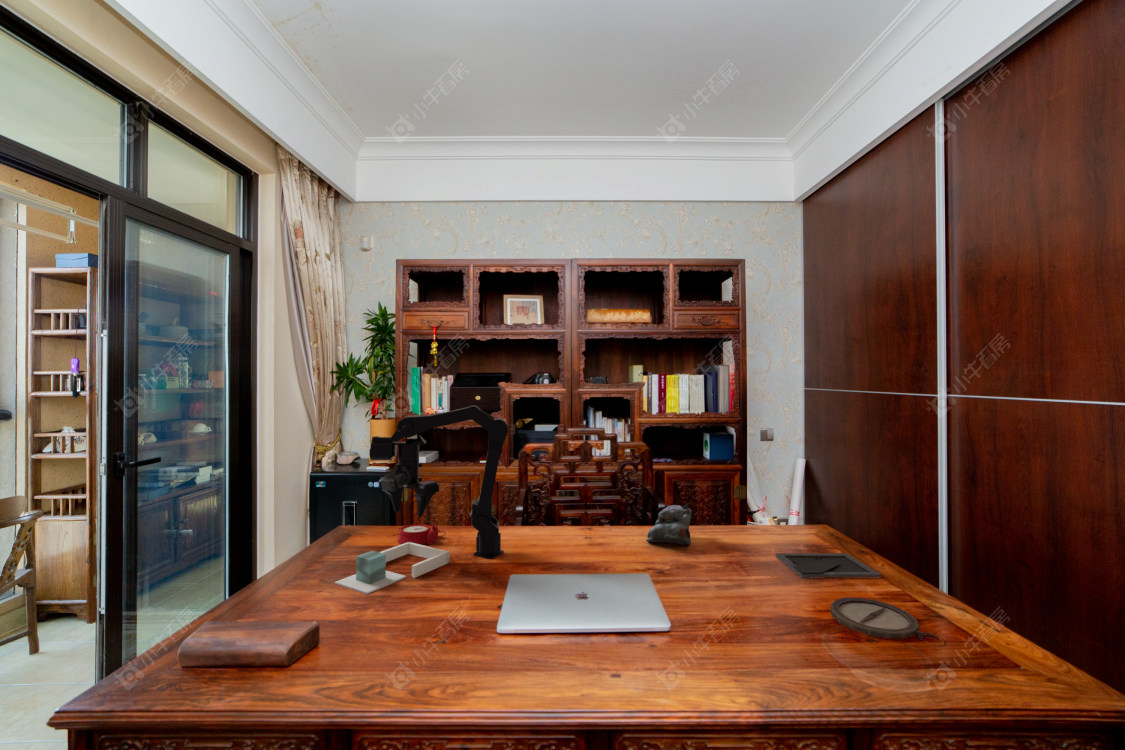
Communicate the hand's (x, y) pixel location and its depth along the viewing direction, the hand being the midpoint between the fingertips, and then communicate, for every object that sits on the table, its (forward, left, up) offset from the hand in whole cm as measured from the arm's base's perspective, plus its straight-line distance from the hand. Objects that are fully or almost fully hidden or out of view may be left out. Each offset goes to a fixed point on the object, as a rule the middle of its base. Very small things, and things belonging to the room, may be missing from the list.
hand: (408, 514), depth 150 cm
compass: (-115, -24, -13) cm, 118 cm away
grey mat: (-5, +17, -12) cm, 21 cm away
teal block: (-5, +17, -12) cm, 21 cm away
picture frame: (-103, -55, -13) cm, 118 cm away
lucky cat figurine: (-59, -52, -12) cm, 80 cm away
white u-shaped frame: (-5, +4, -12) cm, 14 cm away
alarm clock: (+8, -13, -12) cm, 20 cm away
